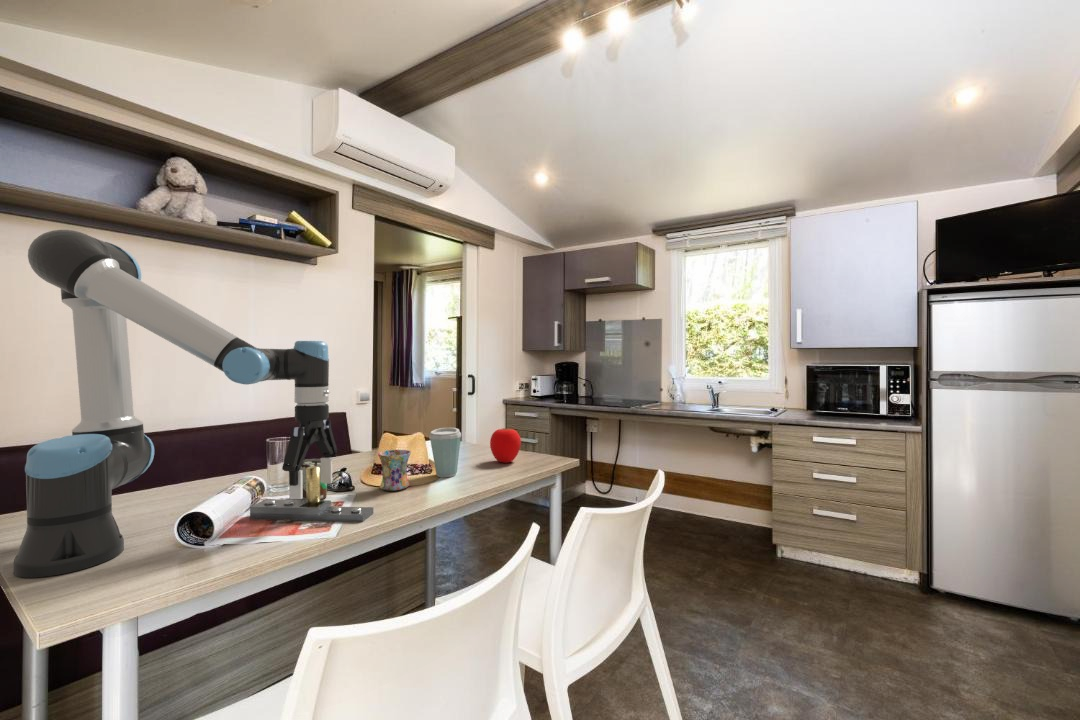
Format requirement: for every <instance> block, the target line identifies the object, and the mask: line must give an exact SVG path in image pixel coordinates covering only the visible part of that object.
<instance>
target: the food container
mask: <svg viewBox="0 0 1080 720" xmlns="http://www.w3.org/2000/svg"><path fill="white" fill-rule="evenodd" d="M311 466H319V467H320V500H326V499H327V495H328V494H327V493H328V483H321V458H310V459H308V458H307V459H305V458H304V461H303V463H302V466H301V468H300V470H303V498H302V499H303V500H307V494H306V468H307V467H311Z"/></svg>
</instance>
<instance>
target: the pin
mask: <svg viewBox="0 0 1080 720" xmlns="http://www.w3.org/2000/svg"><path fill="white" fill-rule="evenodd" d="M306 494H307V507H317V506H319V505H320V467H319V466H311V467H307V468H306Z"/></svg>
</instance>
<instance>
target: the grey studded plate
mask: <svg viewBox="0 0 1080 720" xmlns="http://www.w3.org/2000/svg"><path fill="white" fill-rule="evenodd" d="M373 514H374V506H373V507H371V506H369V507H368V506H366V507H365V506H332V501H331V500H326V499H325V500H320V505H319V506H317V507H307V500H306V499H274V498H273V499H270V498H269V499H268V498H266V499H265V498H264V499H263V500H261V501H259V502H257V503H255V504H253V505H251V506H249V519H250V520H268V521H270V520H271V521H273V520H274V521H305V522H306V521H316V522H350V523H351V522H355V523H357V522H359V523H363V522H365V521H366V520H367V519H369V518H370V516H372V515H373Z"/></svg>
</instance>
